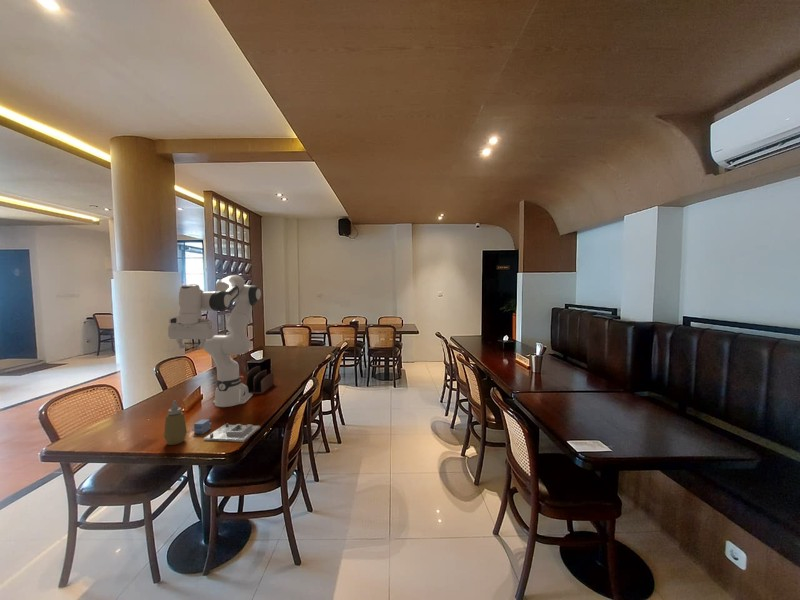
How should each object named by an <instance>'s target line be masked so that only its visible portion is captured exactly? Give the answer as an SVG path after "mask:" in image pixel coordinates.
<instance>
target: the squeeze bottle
mask: <svg viewBox="0 0 800 600" xmlns="http://www.w3.org/2000/svg"><path fill="white" fill-rule="evenodd" d="M167 413H168V414H167V415H166V416H165V422H164V434H163V437H164V440H165V441H166V445H168V446H174V445H179V444H181V443H183V442H184V441H185V439H186V436H187V433H188V431H187V424H186V419H185V418H186V417H185V413H184V412H182V407H179V406H178V403H177V400H173V401H172V403H171V408H169V409H168V410H167Z"/></svg>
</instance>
